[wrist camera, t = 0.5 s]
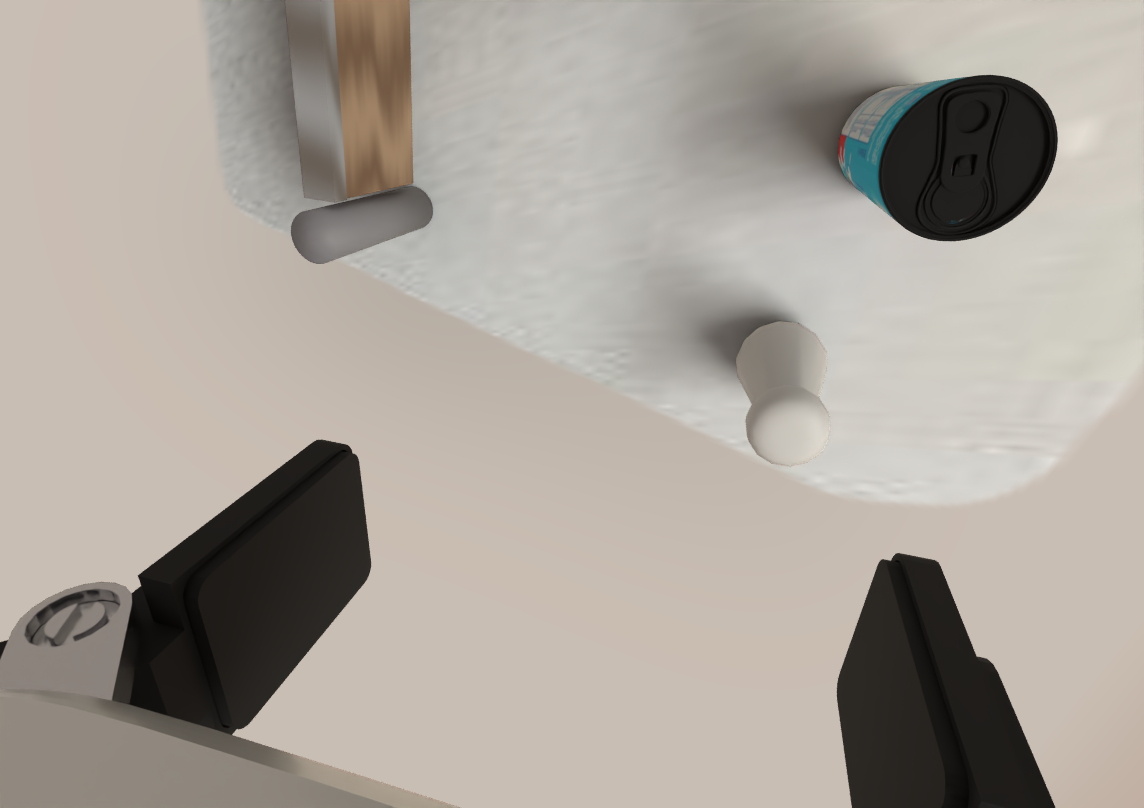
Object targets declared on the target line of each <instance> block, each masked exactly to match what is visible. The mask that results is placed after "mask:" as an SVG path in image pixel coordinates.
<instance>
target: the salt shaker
mask: <svg viewBox="0 0 1144 808" xmlns="http://www.w3.org/2000/svg"><path fill="white" fill-rule="evenodd" d="M736 365H737V374H738V378H739V380H740V382H741V384H742V386H743V388H744V390H745V392H746V394H747V396H748V398H749V400H750V402H751V404H752V405H751V407H750V410H749V412H748V414H747V416H746V430H747V438H748V440H749V442H750V444H751V445H752V447H753V449H754V450H755V452H756V453H757V455H759V456H760V457H762V458H764V459H765V460H767V461H769V462H770V463H772V464H778V465H783V466H789V467H790V466H794V465H799V464H803V463H807V462H809V461H810V460H812V459H813V458H815V457H816V456H818V455H819V454H821V453H822V451H823V449H824V447H825V445H826V443H827V442H828V440H829V436H830V416H829V413H828V411H827V409H826V408H825V406H824V405H823V403H822V401H821V400H820V398H819V397H820V393H821V390H822V386H823V383H824V379H825V376H826V372H827V351H826V350H825V348H824V347H823V345H822V343H821V342H820V340H819V338H818V337H817V335H816V334H815V333H814V332H812V331H810V330H809V329H807V328H805V327H804V326H802V325H800V324H799V323H790V322H781V321H777V322H774V323H771V324H768V325H764V326H761V327H759V328H757V329H756V330H755V331H754V332H753V333H752V334H751V335H749V336H748V337H747V338H746V339H745V340H744V342H743V344H742V346H741V349H740V351H739V353H738V355H737V358H736Z"/></svg>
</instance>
